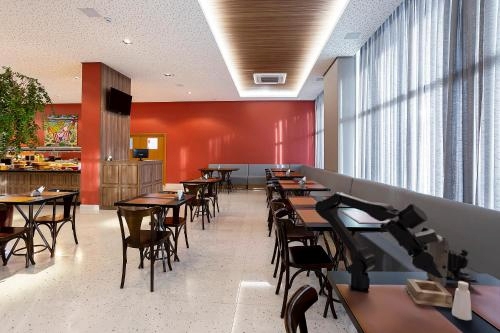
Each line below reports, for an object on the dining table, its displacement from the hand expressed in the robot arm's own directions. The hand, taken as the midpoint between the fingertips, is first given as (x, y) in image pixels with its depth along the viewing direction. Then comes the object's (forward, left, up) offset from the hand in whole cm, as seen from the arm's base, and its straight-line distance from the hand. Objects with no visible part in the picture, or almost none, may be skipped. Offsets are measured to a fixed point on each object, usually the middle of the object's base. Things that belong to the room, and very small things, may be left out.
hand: (438, 272), depth 95 cm
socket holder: (+1, +10, -13) cm, 16 cm away
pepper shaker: (+7, -1, -13) cm, 15 cm away
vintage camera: (+15, +25, -13) cm, 32 cm away
